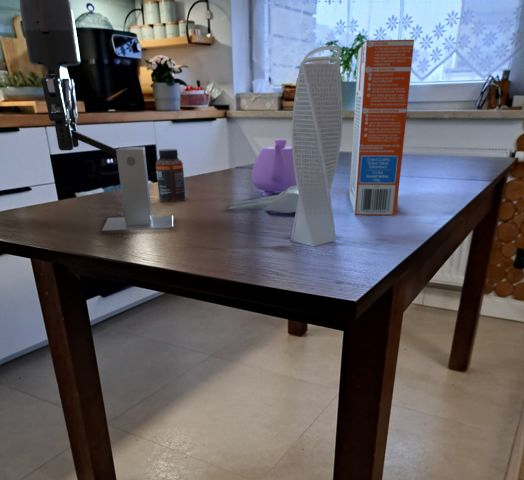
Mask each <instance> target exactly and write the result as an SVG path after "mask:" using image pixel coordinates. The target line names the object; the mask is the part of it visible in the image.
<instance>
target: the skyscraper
mask: <svg viewBox="0 0 524 480" xmlns="http://www.w3.org/2000/svg"><path fill="white" fill-rule="evenodd" d="M330 50H331V51H332V50H333V51H337V53H336V55H335V56H326V55H325V56H324V55H323V56H313V55H314V54H316V53H319V52H323V51H330ZM342 51H343V50H342V48H341V47H340V46H337V45H325V46H319V47H316V48H314V49H312V50H311V51H309V52H308V53H307V54H306V55H305V56H304V58H302V61H301V62H300V65H299V69H298V74H297V81H296V87H295V93H294V99H293V100H294V101H293V108H292V117H291V147H292V154H293V164H294V171H295V178H296V184H297V189H298V194H299V199H298V204H297V209H296V213H294V220H293V223H292V229H291V230H292V231H291V236H290V242H294V243H298V244H302V245H307V246H311V247H316V246H322V245H324V244H327V243H331V242H336V241H337V236H336V229H335V227H336V226H335V221H334V213H333V206H332V200H331V199H332V198H331V189H332V185H333V182H334V178H335V175H336V171H337V166H338V163H339V156H340V150H341V145H342V137H343V115H344V113H343V89H342V78H341V75H342V74H341V66H340V65H341V64H340V63H341V62H340V57H341V53H342ZM330 62H333V63H330Z"/></svg>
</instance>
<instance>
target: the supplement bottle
mask: <svg viewBox="0 0 524 480" xmlns="http://www.w3.org/2000/svg"><path fill="white" fill-rule="evenodd" d="M158 156H159V158H158V160H156V162H155V170H156V171H155V172H156V180H157V189H158V198H159V203H181V202H183V203H185V202H186V201H187V195H186V194H187V193H186V184H185V183H186V182H185V171H184V162H183V160H181V159H179V153H178V149H177V148H162V149H159V150H158Z"/></svg>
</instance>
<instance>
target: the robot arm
mask: <svg viewBox="0 0 524 480" xmlns="http://www.w3.org/2000/svg"><path fill="white" fill-rule="evenodd" d="M19 11H20V17H21V22H22V28H23V33H24V39H25V40H24V41H25V44H26V45H25V46H26V51H27V55H28V61H29V63H30V64H31V65H33V66H43V67H44V72H45V77H41V80H40V84H41V86H42V87H41V88H42V91H43V95H44V100H45V105H46V109H47V114H48V119H49V121H50V122H51V123H52V125H53V126H54V129H55V134H56V140H57V146H58V149H59V151H61V152H62V151H63V152H64V151H72V150H73V149H74V148H78V147H79V146H80V141H79V140H77V139H75V138H72V134H71V128H70V126H71V127H72V128H73V129H74V131H76V132H78V129H77V122H78V117H79V112H78V107H77V99H76V90H75V82H74V79H73V78H70V75H69V72H68V67H69V66H70V67H74V66H79V65H80V64H81V55H80V48H79V42H78V36H77V29H76V22H75V15H74V10H73V7H72V3H71V0H19Z"/></svg>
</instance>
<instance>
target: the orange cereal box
mask: <svg viewBox="0 0 524 480" xmlns="http://www.w3.org/2000/svg"><path fill="white" fill-rule="evenodd" d="M414 47H415V39H375V40H374V39H371V40H365V42H364V43H363V44H362V45H361V47H359V49H358V50H357V51H358V53H357V63H356V66H357V67H356V79H355V80H356V82H355V97H354V110H353V111H354V113H353V128H352V144H351V145H352V147H351V158H350V159H351V161H350V174H349V176H350V177H349V193H348V194H349V200H350V204H351V207H352V211H353V214H354V216H380V217H381V216H382V217H383V216H384V217H385V216H386V217H387V216H388V217H390V216H391V217H393V216H394V217H397V212H398V211H397V210H398V200H399V192H400V191H399V190H400V181H401V171H402V170H401V169H402V162H403V161H402V160H403V151H404V142H405V134H406V125H407V124H406V123H407V114H408V104H409V93H410V85H411V76H412V65H413V55H414Z"/></svg>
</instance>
